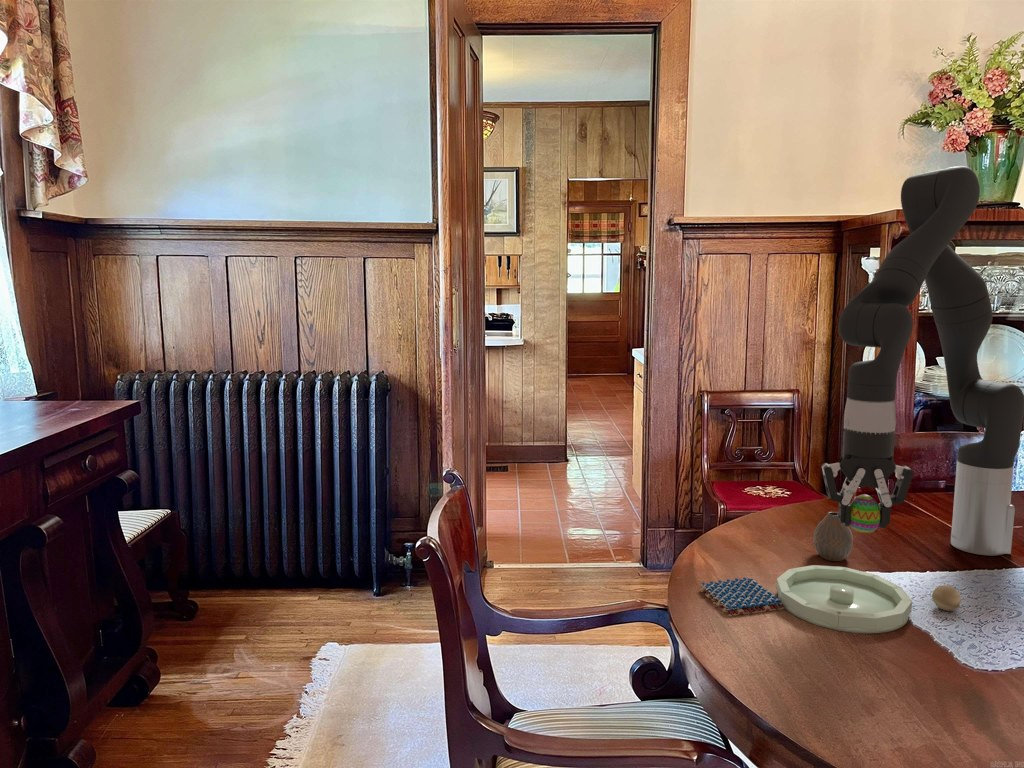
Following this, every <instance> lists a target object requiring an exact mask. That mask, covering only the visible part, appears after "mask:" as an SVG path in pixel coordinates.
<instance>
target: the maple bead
mask: <svg viewBox="0 0 1024 768" xmlns="http://www.w3.org/2000/svg"><path fill="white" fill-rule="evenodd" d="M931 596H932V602H933V603H934V605H935V606H936V607H937V608H939V609H940V610H942V609H943V610H942V611H945V610H947V612H949V611H950V612H951V611H955V610H956V609H958V608H959V607H960V605H961V603H962V596H961V595H960V592H959V591H958V590H957V588H955V587H954V586H951V585H947V584H942V585H939V586H937V587H935V588H934V590H933V592H932V595H931Z"/></svg>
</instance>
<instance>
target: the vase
mask: <svg viewBox="0 0 1024 768" xmlns="http://www.w3.org/2000/svg"><path fill="white" fill-rule="evenodd" d="M838 514H839V511H828V512H827V513H826V515H825V516H824V518H823V519H822V520H820V522H818V524H817V525H816V527H815V528H814V533H813V546H814V548H815V551H816V553H817V554H818V555H819V557H821V558H822V559H823V560H825V561H831V562H841V561H844V560H845V559H847V558H848V557H849V555H850V554H851V552H852V550H853V544H854V539H853V537H854V536H853V533H852V530H851V528H850V526H849V527H846V526H844V525H843V524H842V523H841V522H840V520H839V518H838Z"/></svg>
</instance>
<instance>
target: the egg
mask: <svg viewBox="0 0 1024 768" xmlns="http://www.w3.org/2000/svg"><path fill="white" fill-rule="evenodd" d="M878 504H879V503H877V501H876V500H875V499H874V498H873V497H872V496H871V495H869V494H865V493H863V494H859V495H858V496H855V498H854V499H852V501H851V503H850V504H849V505H850V506H851V509H850V525H849V526H850V527H851V529H853V530H854V531H856V532H860V533H865V534H866V533H867V534H868V533H869V534H870V533H874V532H875V531H876V530H877V529H878V527H879V524H880V519H881V514H880V509H879V506H878Z"/></svg>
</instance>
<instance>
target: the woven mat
mask: <svg viewBox="0 0 1024 768" xmlns="http://www.w3.org/2000/svg"><path fill="white" fill-rule="evenodd" d="M701 584H702V586H701V587H700V588H699V591H700V592H701V593H705V594H704V595H705V597H707V598H708V599H711V601H712V604H713V605H716V606H717V607H718V608H719V607H720V609H721V610H722V612H723V613H724V614H727V613H729V614H727V616H729V617H733V616H732V615H734V616H739V615H740V616H741V615H749V614H757V613H765V612H771V611H772V612H773V611H780V610H784V609H785V608H784V607H783V606H782V602H781V599H778V596H777V595H774V593H772V592H771V591H769V590H768V589H766V588H765V587H763V585H762V584H760V583H758V582H757V581H756V580H754V579H753V578H748V577H745V576H744V577H742V579H741V578H740V579H739V578H738V577H736V578H734V580H733V579H729V578H728V579H726V581H725V580H723V581H722V580H721V579H719V580H718V581H715V582H714V581H713V580H710V581H709V583H707V582H706V583H705V581H703V582H701ZM780 602H781V603H780Z"/></svg>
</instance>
